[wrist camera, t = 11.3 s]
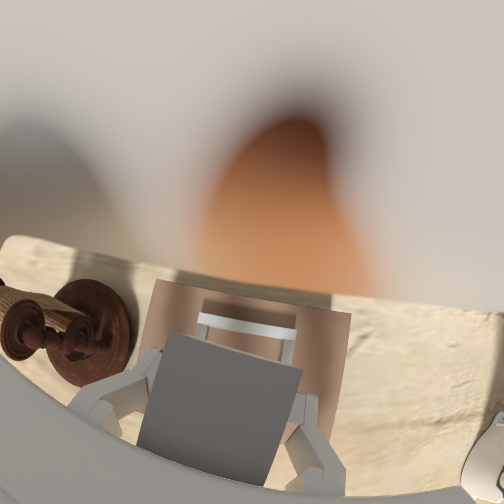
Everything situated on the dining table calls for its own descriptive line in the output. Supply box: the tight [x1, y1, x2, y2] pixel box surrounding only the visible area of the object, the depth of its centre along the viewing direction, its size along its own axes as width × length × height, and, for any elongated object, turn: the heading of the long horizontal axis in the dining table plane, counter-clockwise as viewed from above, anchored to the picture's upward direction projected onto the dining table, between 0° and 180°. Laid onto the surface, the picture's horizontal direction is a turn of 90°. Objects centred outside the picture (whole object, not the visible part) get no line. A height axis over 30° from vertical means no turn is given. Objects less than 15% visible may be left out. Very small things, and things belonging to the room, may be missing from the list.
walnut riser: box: [136, 279, 351, 444], centre depth 28 cm, size 20×14×10 cm
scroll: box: [0, 278, 133, 388], centre depth 24 cm, size 15×15×20 cm
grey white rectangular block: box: [136, 330, 303, 487], centre depth 11 cm, size 4×4×8 cm
